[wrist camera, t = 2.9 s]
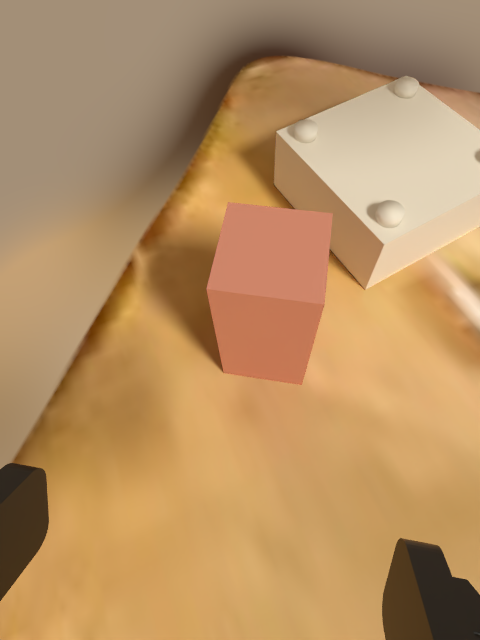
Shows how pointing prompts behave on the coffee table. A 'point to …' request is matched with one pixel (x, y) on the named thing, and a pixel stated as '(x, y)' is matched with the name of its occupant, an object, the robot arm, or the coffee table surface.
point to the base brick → (384, 176)
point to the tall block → (269, 289)
